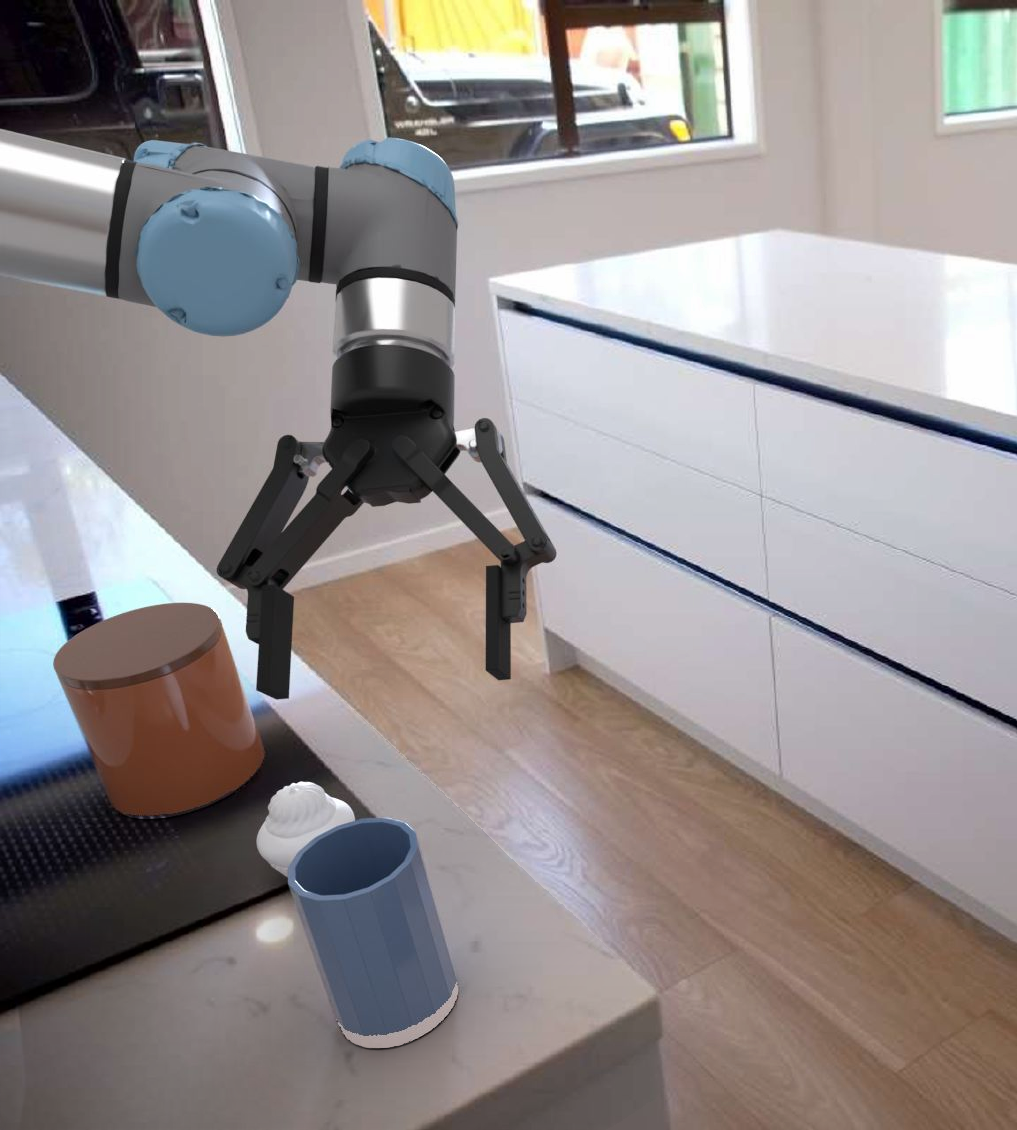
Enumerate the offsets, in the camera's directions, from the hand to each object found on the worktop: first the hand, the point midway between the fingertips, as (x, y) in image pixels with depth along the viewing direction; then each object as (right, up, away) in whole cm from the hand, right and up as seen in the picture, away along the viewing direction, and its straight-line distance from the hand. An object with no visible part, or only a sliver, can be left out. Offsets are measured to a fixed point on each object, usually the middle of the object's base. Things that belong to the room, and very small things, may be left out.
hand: (385, 685), depth 77 cm
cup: (+2, -18, -2) cm, 19 cm away
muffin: (-8, -14, +10) cm, 18 cm away
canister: (-23, -9, +21) cm, 32 cm away
